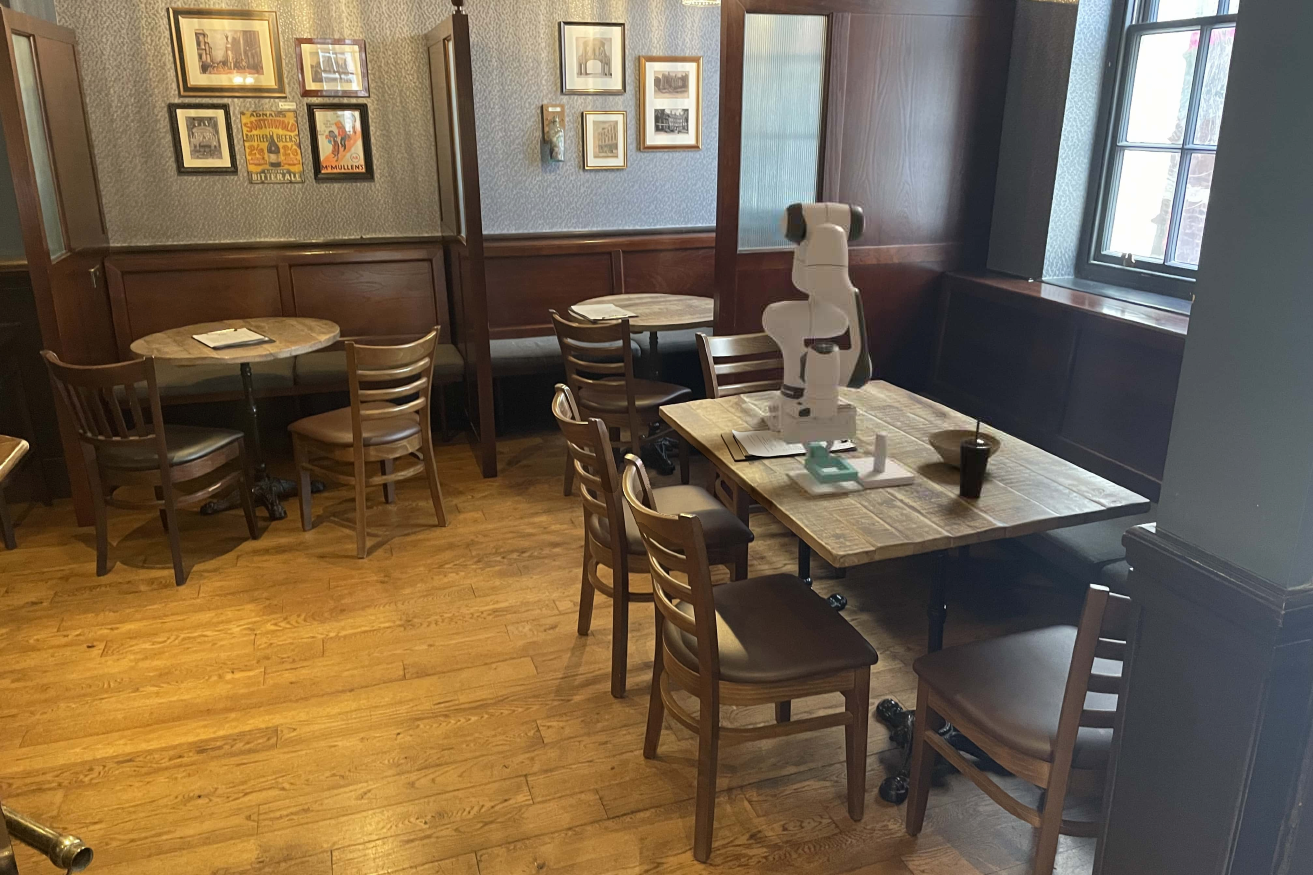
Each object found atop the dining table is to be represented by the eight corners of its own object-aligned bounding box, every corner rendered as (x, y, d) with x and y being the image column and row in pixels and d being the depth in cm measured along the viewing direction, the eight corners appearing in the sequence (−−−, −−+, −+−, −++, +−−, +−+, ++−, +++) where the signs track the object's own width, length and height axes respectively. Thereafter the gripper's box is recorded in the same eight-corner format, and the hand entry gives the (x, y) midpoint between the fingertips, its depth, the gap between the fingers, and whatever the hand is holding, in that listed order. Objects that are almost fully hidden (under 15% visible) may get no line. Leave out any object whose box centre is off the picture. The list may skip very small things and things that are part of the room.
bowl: (922, 473, 243) (924, 444, 241) (929, 452, 260) (932, 425, 257) (996, 482, 237) (999, 453, 235) (998, 460, 253) (1002, 432, 251)
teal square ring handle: (794, 458, 241) (795, 444, 240) (829, 455, 244) (830, 441, 243) (820, 484, 227) (822, 469, 226) (857, 480, 230) (859, 466, 228)
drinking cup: (985, 502, 224) (995, 424, 218) (952, 498, 226) (961, 420, 220) (986, 491, 231) (995, 415, 224) (954, 487, 233) (963, 412, 227)
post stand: (836, 467, 247) (839, 424, 243) (883, 463, 251) (886, 421, 247) (865, 488, 232) (868, 443, 229) (914, 483, 236) (918, 438, 232)
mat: (786, 473, 242) (786, 471, 242) (834, 469, 246) (834, 467, 246) (812, 495, 228) (812, 493, 227) (863, 490, 231) (863, 487, 231)
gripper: (851, 400, 241) (847, 450, 245) (779, 405, 236) (776, 456, 240) (862, 406, 235) (859, 457, 239) (789, 412, 230) (786, 464, 234)
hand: (817, 457), depth 240 cm, fingers closed on teal square ring handle, 3 cm apart
